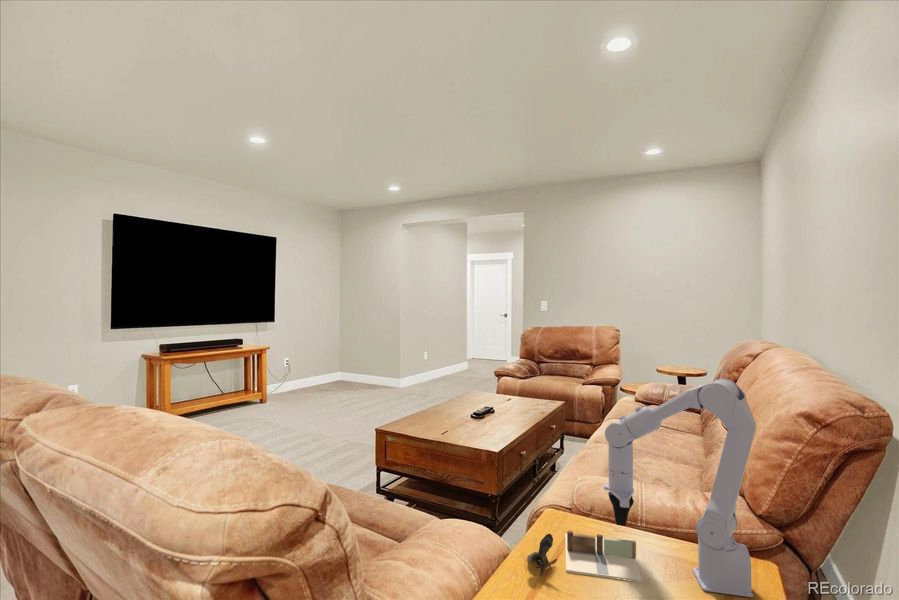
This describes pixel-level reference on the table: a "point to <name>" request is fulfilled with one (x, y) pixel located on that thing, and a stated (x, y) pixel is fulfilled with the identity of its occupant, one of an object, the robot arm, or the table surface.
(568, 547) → the fence
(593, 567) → the card
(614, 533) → the table surface
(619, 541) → the fence panel
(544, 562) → the eagle figurine
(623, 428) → the robot arm
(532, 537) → the table surface
